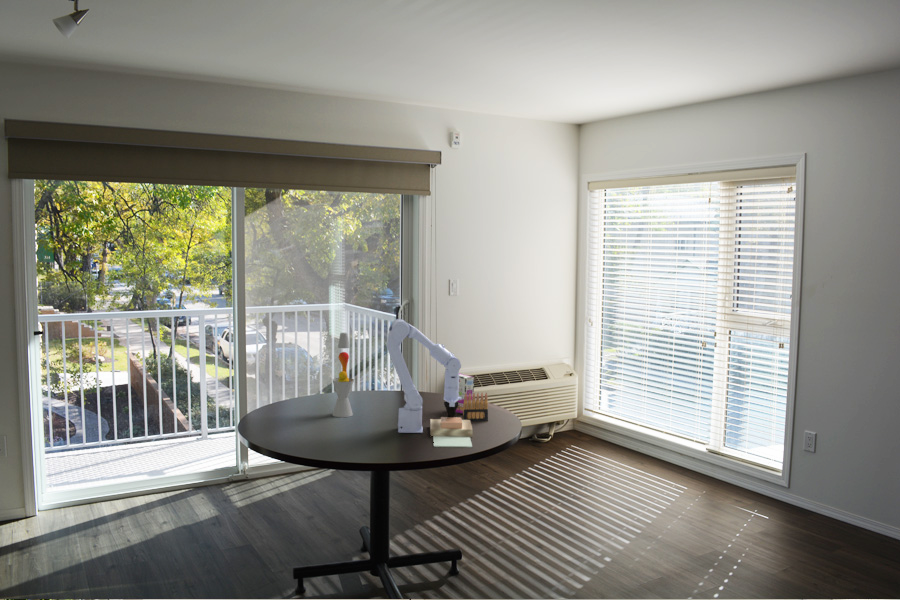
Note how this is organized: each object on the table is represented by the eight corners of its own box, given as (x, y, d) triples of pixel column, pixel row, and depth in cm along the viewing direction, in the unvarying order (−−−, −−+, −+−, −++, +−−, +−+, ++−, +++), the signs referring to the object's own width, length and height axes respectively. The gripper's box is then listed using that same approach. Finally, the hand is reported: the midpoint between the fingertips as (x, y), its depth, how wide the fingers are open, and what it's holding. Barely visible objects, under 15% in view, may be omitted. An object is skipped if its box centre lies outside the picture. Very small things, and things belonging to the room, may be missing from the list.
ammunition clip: (463, 421, 267) (464, 393, 266) (462, 420, 269) (463, 392, 268) (488, 421, 269) (489, 393, 268) (486, 419, 271) (487, 391, 270)
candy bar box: (473, 414, 280) (474, 377, 278) (464, 415, 277) (465, 378, 275) (458, 408, 288) (459, 372, 287) (449, 410, 285) (450, 373, 284)
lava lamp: (333, 411, 276) (334, 331, 274) (354, 411, 277) (355, 331, 274) (330, 417, 267) (331, 334, 265) (352, 417, 268) (353, 334, 265)
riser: (430, 436, 244) (430, 428, 244) (430, 426, 258) (430, 419, 258) (472, 437, 245) (472, 429, 245) (469, 427, 259) (469, 419, 258)
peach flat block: (441, 428, 245) (441, 422, 245) (440, 422, 253) (440, 417, 253) (462, 428, 246) (462, 422, 245) (460, 422, 254) (460, 417, 253)
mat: (433, 446, 232) (433, 445, 232) (433, 437, 244) (433, 436, 244) (472, 447, 232) (472, 446, 232) (469, 437, 244) (469, 436, 244)
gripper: (462, 390, 246) (461, 425, 247) (460, 382, 261) (459, 415, 262) (444, 390, 246) (443, 425, 247) (443, 382, 260) (442, 415, 261)
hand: (450, 420), depth 254 cm, fingers closed
